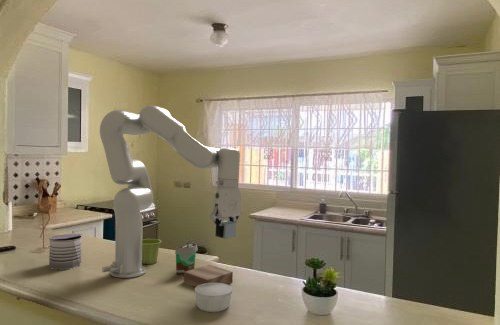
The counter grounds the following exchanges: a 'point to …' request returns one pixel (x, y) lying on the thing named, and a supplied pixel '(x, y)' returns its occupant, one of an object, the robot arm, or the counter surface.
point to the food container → (185, 257)
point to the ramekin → (213, 296)
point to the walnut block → (207, 275)
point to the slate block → (228, 229)
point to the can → (65, 251)
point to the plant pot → (150, 250)
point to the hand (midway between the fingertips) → (225, 235)
